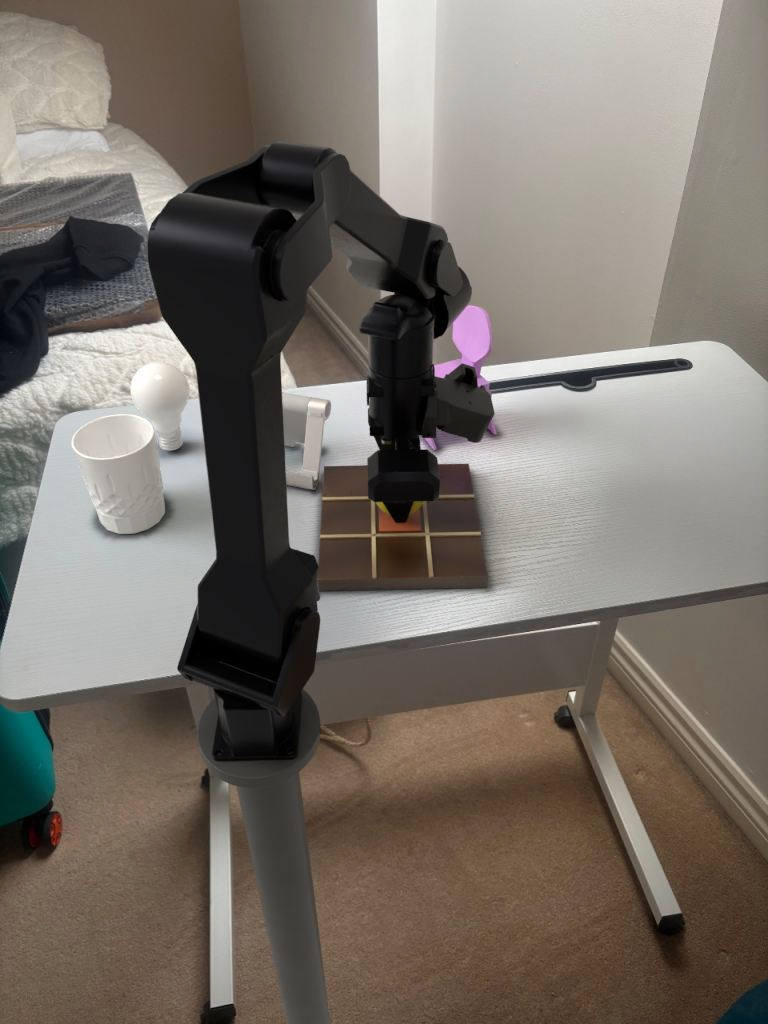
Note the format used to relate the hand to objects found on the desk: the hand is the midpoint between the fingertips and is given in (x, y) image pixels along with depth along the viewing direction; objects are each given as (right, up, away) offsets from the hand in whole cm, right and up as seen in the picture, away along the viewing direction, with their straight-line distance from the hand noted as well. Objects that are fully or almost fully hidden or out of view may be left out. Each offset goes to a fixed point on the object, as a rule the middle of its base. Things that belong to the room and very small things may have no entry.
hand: (399, 500), depth 83 cm
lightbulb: (-26, +6, +14) cm, 30 cm away
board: (0, -3, +2) cm, 4 cm away
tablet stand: (-12, +4, +11) cm, 17 cm away
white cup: (-28, -2, +4) cm, 28 cm away
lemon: (0, -2, +1) cm, 2 cm away
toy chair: (+7, +9, +16) cm, 20 cm away
